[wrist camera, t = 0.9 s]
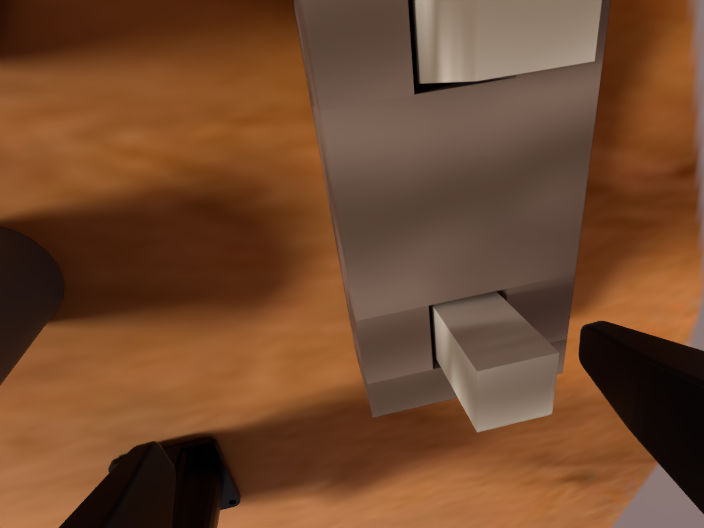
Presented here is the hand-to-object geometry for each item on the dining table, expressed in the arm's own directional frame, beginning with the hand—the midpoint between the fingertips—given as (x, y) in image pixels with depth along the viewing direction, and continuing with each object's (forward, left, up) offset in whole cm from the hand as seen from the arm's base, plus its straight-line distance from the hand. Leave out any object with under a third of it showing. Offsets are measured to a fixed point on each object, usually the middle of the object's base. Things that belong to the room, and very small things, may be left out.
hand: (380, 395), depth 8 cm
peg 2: (-5, -5, -8) cm, 11 cm away
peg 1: (+7, -5, -8) cm, 12 cm away
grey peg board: (+1, -5, -13) cm, 14 cm away
